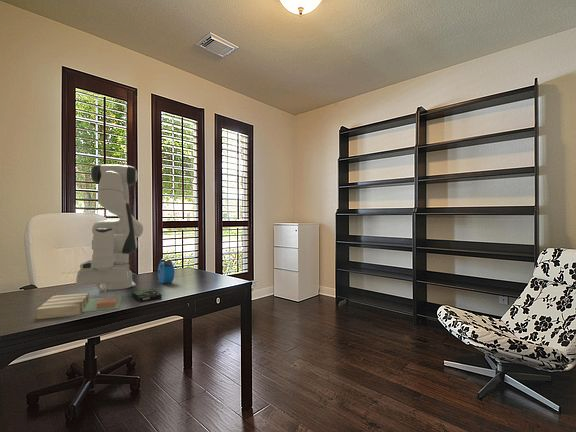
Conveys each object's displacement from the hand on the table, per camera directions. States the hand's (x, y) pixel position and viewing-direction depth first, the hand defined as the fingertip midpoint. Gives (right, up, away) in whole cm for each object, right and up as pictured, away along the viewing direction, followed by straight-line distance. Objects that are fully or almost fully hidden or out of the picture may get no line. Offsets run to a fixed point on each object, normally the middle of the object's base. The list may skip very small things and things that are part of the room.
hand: (103, 292), depth 137 cm
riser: (-13, -6, -6) cm, 15 cm away
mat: (-1, -6, +2) cm, 6 cm away
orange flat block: (+2, -3, 0) cm, 4 cm away
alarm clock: (+9, -7, +48) cm, 49 cm away
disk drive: (+13, -7, +15) cm, 21 cm away
